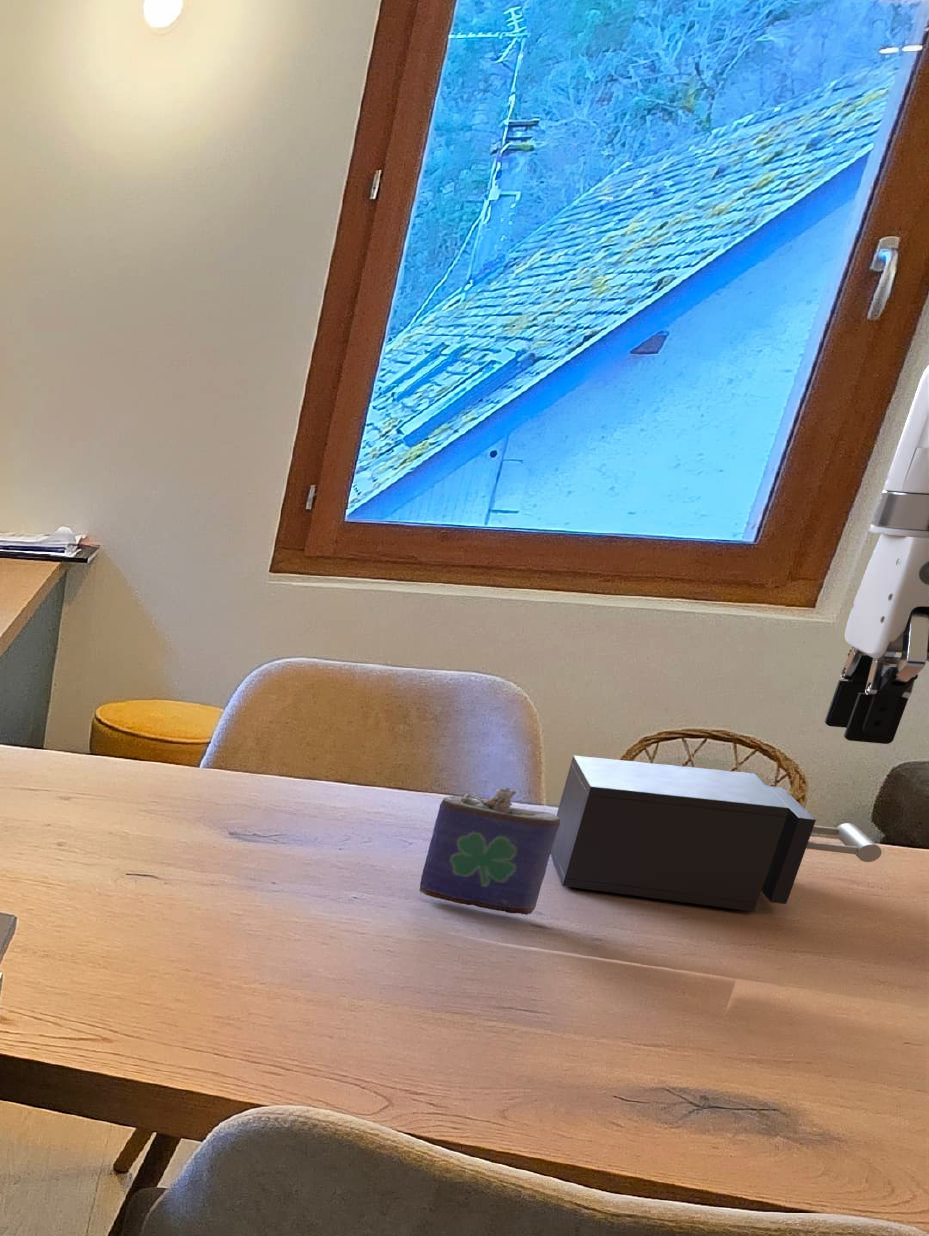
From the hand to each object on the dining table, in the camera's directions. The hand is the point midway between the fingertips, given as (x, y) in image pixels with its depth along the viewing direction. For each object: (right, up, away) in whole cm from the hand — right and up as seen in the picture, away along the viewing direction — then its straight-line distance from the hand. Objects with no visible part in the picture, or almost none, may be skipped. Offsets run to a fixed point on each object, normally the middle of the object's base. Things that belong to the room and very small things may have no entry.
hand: (857, 732), depth 119 cm
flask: (-31, -15, +4) cm, 34 cm away
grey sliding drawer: (-6, -12, +8) cm, 16 cm away
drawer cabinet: (-11, -12, +11) cm, 19 cm away
